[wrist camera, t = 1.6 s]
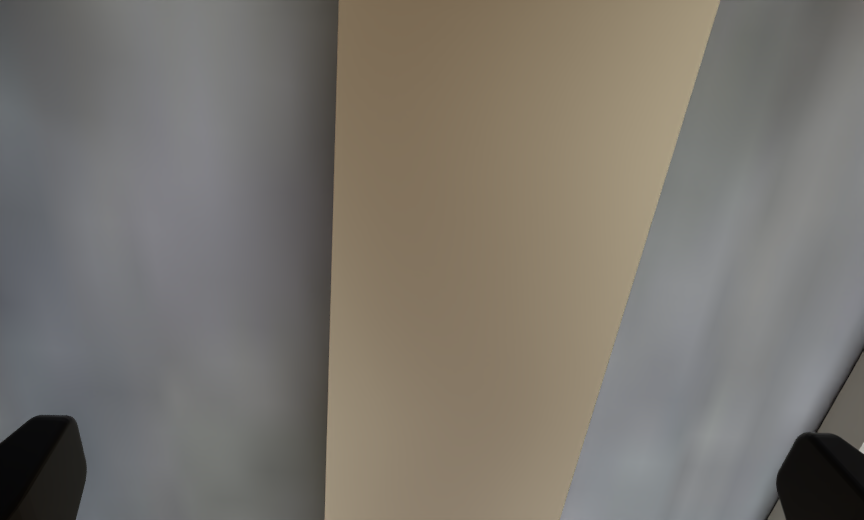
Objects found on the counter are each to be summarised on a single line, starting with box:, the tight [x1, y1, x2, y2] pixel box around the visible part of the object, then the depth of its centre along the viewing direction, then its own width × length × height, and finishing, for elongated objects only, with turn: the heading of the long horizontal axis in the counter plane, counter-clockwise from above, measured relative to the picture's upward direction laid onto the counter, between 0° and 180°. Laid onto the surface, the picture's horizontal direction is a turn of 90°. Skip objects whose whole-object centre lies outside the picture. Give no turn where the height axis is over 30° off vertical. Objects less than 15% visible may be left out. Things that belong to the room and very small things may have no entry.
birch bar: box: [325, 0, 720, 520], centre depth 10 cm, size 3×20×4 cm, turn 174°
